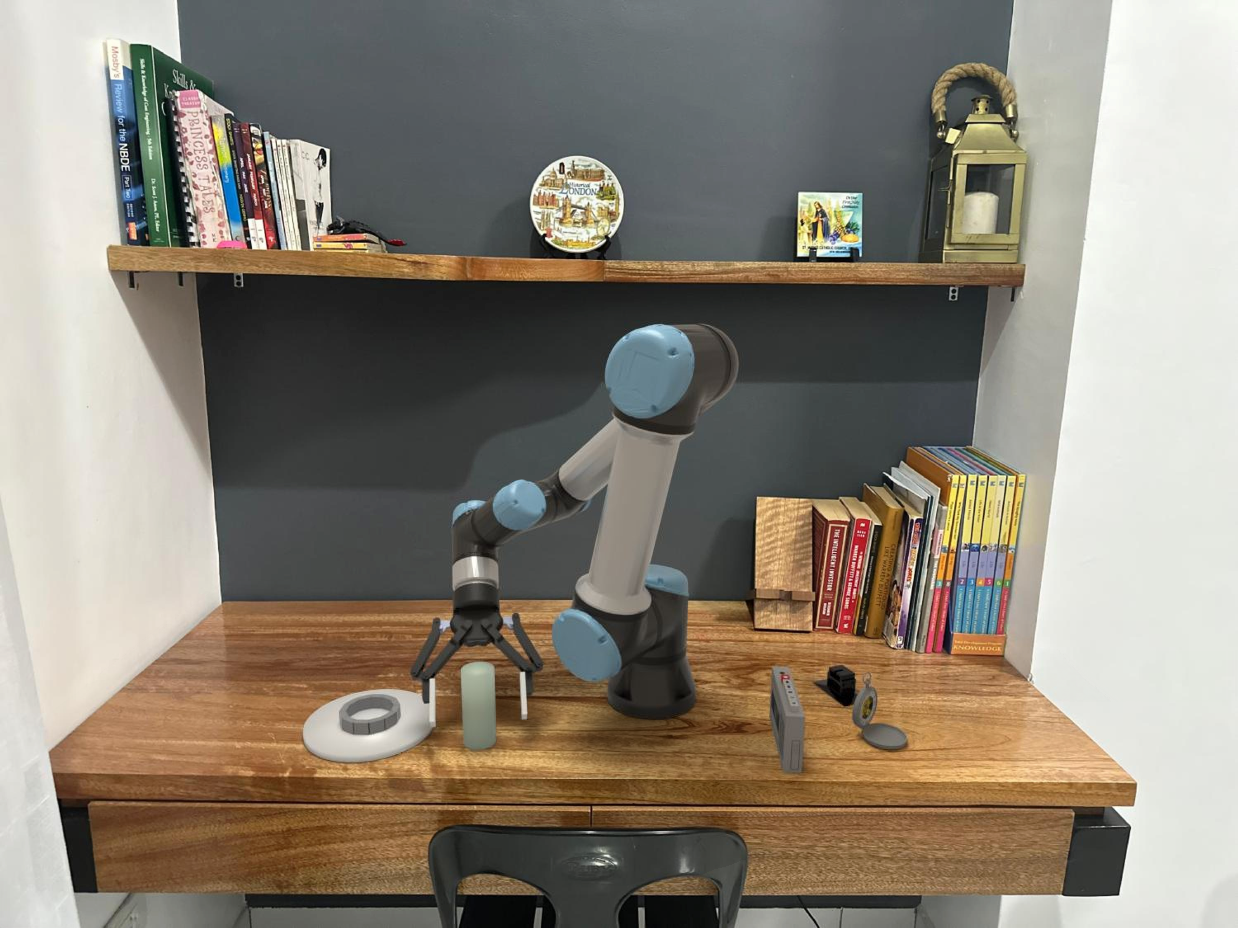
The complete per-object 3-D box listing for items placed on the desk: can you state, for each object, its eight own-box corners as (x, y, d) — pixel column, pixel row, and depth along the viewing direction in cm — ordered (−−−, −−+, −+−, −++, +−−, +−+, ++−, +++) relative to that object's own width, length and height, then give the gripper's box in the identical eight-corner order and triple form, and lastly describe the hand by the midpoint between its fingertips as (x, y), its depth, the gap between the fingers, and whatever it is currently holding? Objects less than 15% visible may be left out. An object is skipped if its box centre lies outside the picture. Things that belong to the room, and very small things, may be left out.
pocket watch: (909, 754, 120) (915, 693, 118) (851, 747, 122) (856, 687, 120) (902, 726, 128) (907, 668, 126) (847, 720, 130) (851, 663, 128)
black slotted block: (802, 681, 144) (804, 658, 143) (836, 674, 146) (837, 651, 145) (845, 715, 132) (847, 689, 131) (881, 707, 135) (883, 682, 134)
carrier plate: (447, 695, 136) (446, 678, 136) (418, 762, 117) (417, 743, 116) (330, 695, 136) (328, 677, 136) (282, 761, 117) (280, 742, 116)
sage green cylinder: (498, 732, 125) (496, 661, 123) (493, 750, 120) (491, 676, 118) (466, 732, 125) (464, 661, 123) (460, 749, 120) (457, 676, 118)
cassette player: (769, 716, 131) (772, 660, 129) (785, 717, 131) (789, 661, 128) (782, 772, 115) (786, 709, 113) (801, 773, 115) (805, 710, 113)
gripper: (550, 595, 136) (560, 720, 125) (399, 603, 132) (395, 734, 121) (553, 576, 130) (563, 706, 119) (395, 584, 126) (390, 720, 114)
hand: (478, 720), depth 120 cm, fingers open, 13 cm apart
